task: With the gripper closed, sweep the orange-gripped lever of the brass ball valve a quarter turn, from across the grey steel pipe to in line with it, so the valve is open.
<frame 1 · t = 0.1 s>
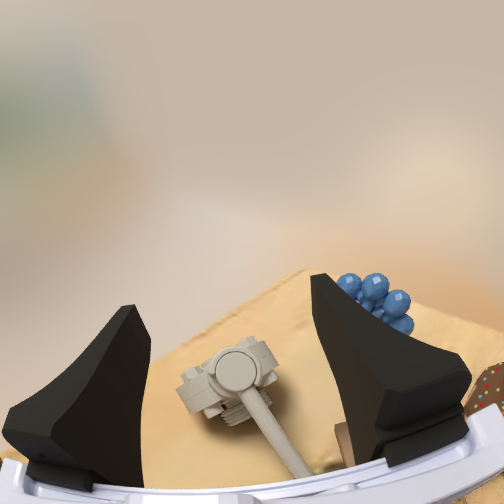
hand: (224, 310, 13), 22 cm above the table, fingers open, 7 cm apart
walnut board: (404, 491, 20), on the table
grapes: (364, 351, 37), on the table
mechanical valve: (270, 443, 28), on the table
valve lever: (485, 437, 15), point 9 cm above the table, hinge at -90.0°
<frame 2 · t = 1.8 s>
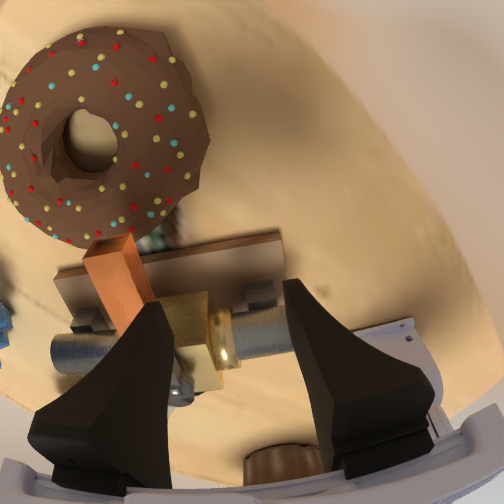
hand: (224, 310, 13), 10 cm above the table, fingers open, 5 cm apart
walnut board: (173, 300, 25), on the table
pipe and valve body: (184, 299, 25), resting on walnut board
plant pot: (282, 457, 43), on the table
valve lever: (149, 336, 16), point 9 cm above the table, hinge at -90.0°
donut: (107, 129, 19), on the table
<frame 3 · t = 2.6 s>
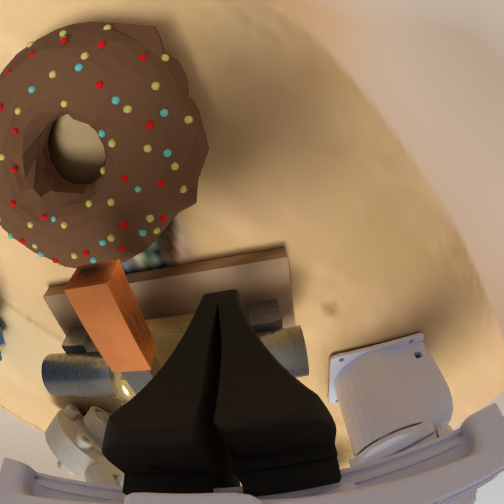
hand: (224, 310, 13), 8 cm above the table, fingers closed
walnut board: (170, 319, 24), on the table
pipe and valve body: (183, 317, 24), resting on walnut board
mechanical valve: (129, 397, 29), on the table
valve lever: (143, 368, 14), point 9 cm above the table, hinge at -90.0°
donut: (96, 135, 17), on the table
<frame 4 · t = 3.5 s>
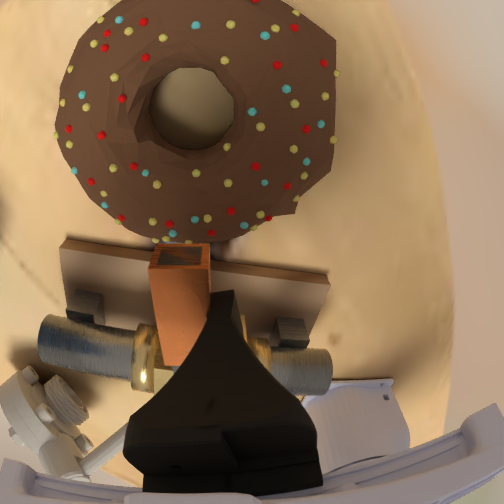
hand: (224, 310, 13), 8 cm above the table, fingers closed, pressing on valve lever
walnut board: (188, 310, 23), on the table
pipe and valve body: (202, 312, 23), resting on walnut board
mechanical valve: (100, 375, 27), on the table
valve lever: (191, 363, 13), point 9 cm above the table, hinge at -80.8°, touching gripper
donut: (203, 102, 16), on the table
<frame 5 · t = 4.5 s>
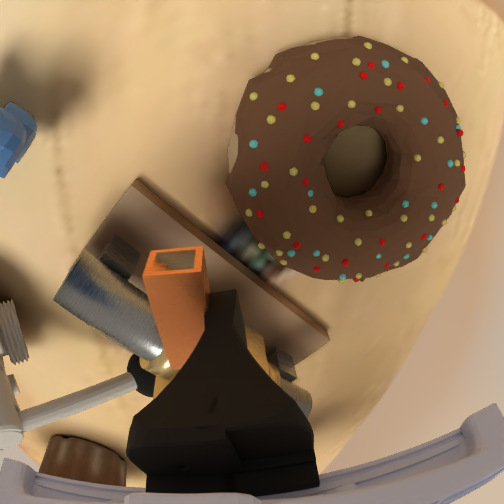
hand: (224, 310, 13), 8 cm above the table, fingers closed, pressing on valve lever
walnut board: (201, 306, 23), on the table
pipe and valve body: (212, 313, 23), resting on walnut board
plant pot: (88, 452, 36), on the table
grapes: (6, 116, 14), on the table
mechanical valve: (59, 321, 23), on the table
valve lever: (199, 366, 14), point 9 cm above the table, hinge at -41.9°, touching gripper
donut: (346, 153, 18), on the table
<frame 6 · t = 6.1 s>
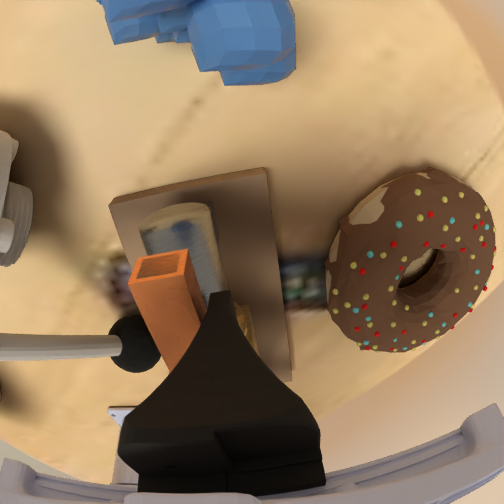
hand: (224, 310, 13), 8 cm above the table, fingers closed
walnut board: (217, 303, 23), on the table
pipe and valve body: (220, 313, 23), resting on walnut board
grapes: (188, 6, 13), on the table
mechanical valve: (59, 241, 19), on the table
valve lever: (200, 368, 14), point 9 cm above the table, hinge at 0.1°, touching gripper
donut: (403, 253, 22), on the table
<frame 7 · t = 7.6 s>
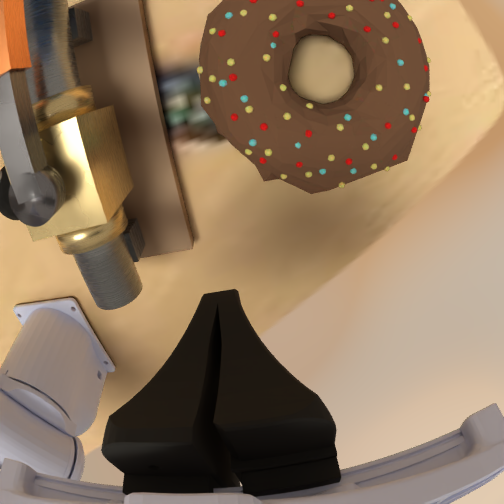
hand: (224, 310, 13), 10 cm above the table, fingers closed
walnut board: (98, 132, 18), on the table
pipe and valve body: (102, 146, 19), resting on walnut board
valve lever: (11, 98, 9), point 9 cm above the table, hinge at 0.3°
donut: (313, 75, 18), on the table
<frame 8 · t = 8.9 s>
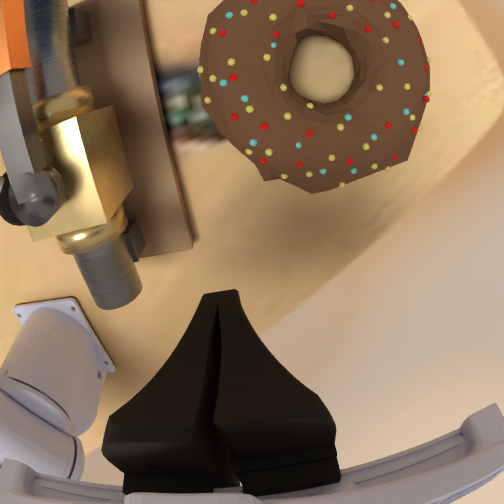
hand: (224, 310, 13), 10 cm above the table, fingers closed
walnut board: (98, 132, 18), on the table
pipe and valve body: (102, 146, 19), resting on walnut board
valve lever: (11, 98, 9), point 9 cm above the table, hinge at 0.3°
donut: (314, 74, 18), on the table
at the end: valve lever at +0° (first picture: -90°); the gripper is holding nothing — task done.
